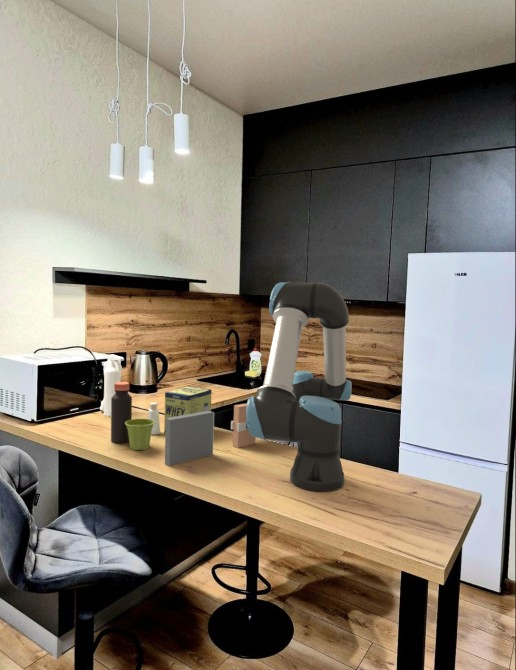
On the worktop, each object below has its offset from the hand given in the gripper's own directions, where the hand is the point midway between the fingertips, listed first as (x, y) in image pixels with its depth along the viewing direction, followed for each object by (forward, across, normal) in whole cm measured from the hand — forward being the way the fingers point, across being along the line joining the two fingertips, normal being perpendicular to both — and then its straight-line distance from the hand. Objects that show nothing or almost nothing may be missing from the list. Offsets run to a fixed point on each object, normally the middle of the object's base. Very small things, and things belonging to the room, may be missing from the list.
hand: (234, 426), depth 160 cm
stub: (-4, 0, -7) cm, 8 cm away
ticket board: (+18, 0, -8) cm, 20 cm away
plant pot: (+25, +19, -8) cm, 32 cm away
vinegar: (+26, +30, -8) cm, 40 cm away
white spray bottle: (+12, +65, -8) cm, 66 cm away
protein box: (+1, +25, -8) cm, 26 cm away
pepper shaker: (+12, +31, -8) cm, 34 cm away
